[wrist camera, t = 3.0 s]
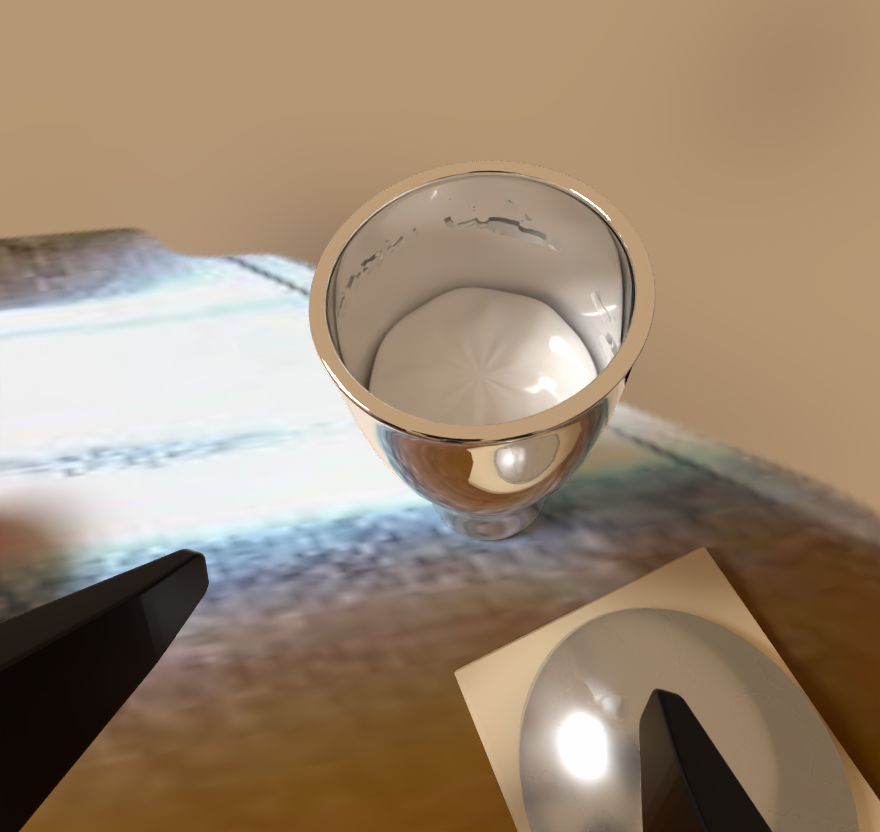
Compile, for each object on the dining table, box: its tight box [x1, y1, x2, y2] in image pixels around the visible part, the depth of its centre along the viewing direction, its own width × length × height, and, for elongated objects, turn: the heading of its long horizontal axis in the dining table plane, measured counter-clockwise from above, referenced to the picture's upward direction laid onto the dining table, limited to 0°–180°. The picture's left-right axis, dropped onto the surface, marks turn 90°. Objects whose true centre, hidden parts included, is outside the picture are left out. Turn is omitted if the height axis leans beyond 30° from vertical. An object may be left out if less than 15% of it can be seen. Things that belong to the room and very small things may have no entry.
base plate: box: [455, 547, 880, 832], centre depth 17 cm, size 12×12×1 cm
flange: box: [518, 608, 859, 832], centre depth 16 cm, size 11×11×1 cm
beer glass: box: [309, 161, 655, 540], centre depth 15 cm, size 7×7×15 cm
